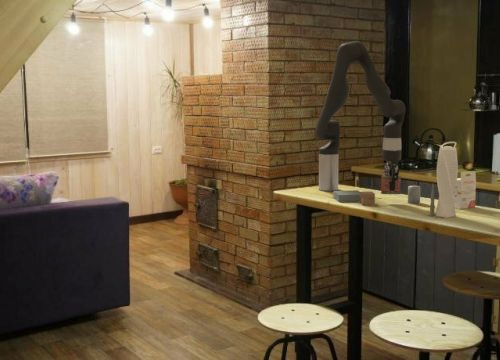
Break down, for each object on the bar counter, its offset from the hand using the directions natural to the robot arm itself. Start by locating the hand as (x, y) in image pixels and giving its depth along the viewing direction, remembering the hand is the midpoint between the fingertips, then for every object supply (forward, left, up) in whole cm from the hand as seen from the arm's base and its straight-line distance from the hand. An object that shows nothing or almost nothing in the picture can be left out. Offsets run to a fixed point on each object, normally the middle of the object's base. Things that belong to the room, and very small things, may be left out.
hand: (390, 189), depth 256 cm
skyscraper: (+28, +12, -6) cm, 32 cm away
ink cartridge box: (+12, +26, -6) cm, 29 cm away
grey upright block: (0, +10, -6) cm, 12 cm away
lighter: (0, 0, -2) cm, 2 cm away
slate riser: (-12, -15, -6) cm, 20 cm away
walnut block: (0, -10, -6) cm, 12 cm away
